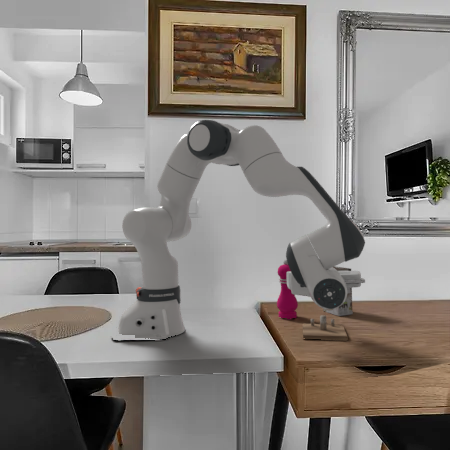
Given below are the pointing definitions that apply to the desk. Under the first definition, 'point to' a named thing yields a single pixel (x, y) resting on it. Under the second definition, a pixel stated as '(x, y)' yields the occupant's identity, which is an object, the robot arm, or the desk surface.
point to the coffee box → (347, 305)
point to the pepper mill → (286, 295)
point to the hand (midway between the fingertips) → (321, 274)
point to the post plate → (324, 330)
